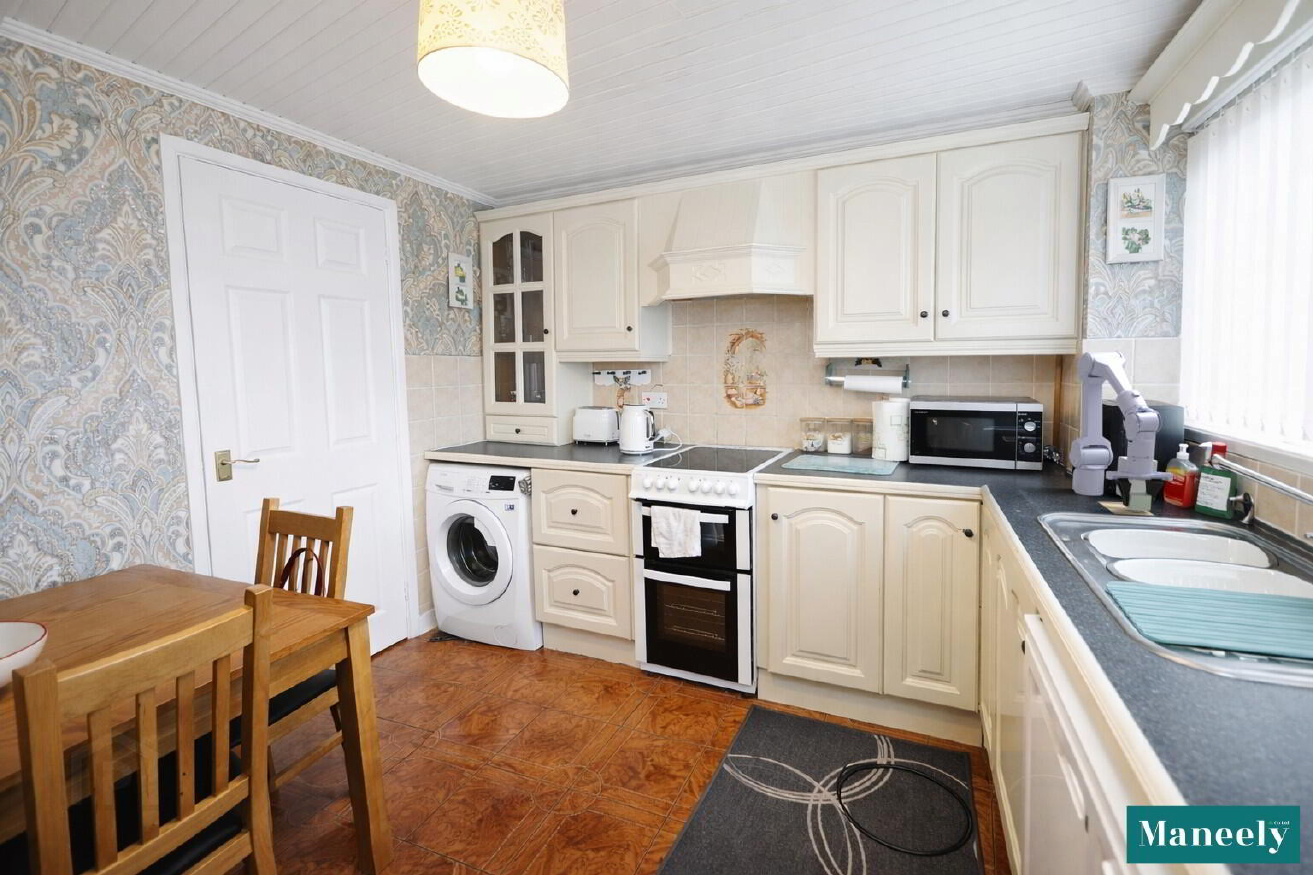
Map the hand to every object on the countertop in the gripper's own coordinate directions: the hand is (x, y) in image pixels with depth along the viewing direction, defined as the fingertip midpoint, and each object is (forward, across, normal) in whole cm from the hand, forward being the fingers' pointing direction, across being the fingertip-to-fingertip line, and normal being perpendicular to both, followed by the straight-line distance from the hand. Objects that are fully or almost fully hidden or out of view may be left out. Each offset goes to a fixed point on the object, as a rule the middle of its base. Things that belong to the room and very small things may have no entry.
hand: (1136, 505), depth 172 cm
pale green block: (+1, 0, 0) cm, 1 cm away
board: (+3, -2, +4) cm, 5 cm away
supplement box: (+3, +6, +19) cm, 20 cm away
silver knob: (+3, 0, 0) cm, 3 cm away
